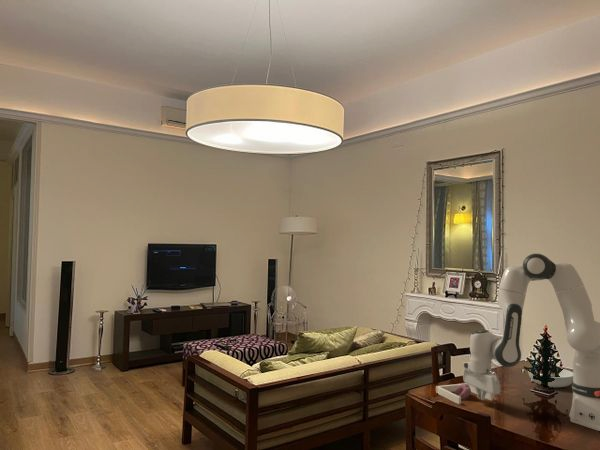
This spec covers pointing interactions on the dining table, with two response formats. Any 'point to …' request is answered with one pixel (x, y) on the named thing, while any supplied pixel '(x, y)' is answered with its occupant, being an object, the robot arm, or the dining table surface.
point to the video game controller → (463, 391)
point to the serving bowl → (558, 379)
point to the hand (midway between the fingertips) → (481, 399)
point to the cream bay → (447, 390)
